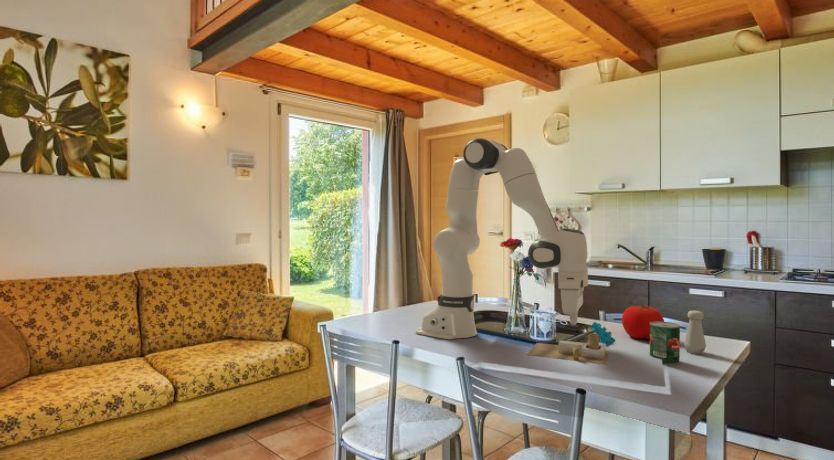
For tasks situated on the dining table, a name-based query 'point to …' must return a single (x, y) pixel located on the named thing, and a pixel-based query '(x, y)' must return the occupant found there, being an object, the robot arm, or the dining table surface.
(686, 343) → the salt shaker
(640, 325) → the tomato
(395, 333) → the dining table surface
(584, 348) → the tan pipe fitting
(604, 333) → the gear
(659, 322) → the canned tomato
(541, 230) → the robot arm
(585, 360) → the post board
